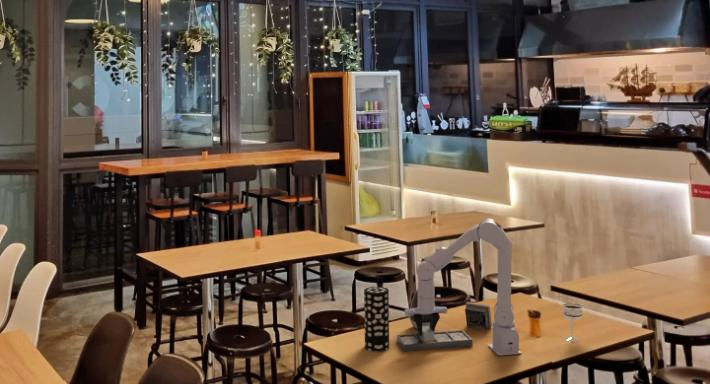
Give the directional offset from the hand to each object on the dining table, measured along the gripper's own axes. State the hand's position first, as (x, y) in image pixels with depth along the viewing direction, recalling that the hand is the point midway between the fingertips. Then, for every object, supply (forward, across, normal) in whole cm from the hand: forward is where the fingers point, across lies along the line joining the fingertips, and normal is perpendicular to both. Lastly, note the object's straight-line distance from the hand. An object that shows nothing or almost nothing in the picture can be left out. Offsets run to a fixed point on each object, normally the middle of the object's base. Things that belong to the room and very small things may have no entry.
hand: (426, 334), depth 212 cm
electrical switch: (+4, -24, -13) cm, 27 cm away
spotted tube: (+4, +17, -1) cm, 18 cm away
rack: (+3, -3, 0) cm, 4 cm away
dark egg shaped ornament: (+4, -4, -17) cm, 18 cm away
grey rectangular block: (+2, 0, 0) cm, 2 cm away
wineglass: (+4, -51, +6) cm, 51 cm away
